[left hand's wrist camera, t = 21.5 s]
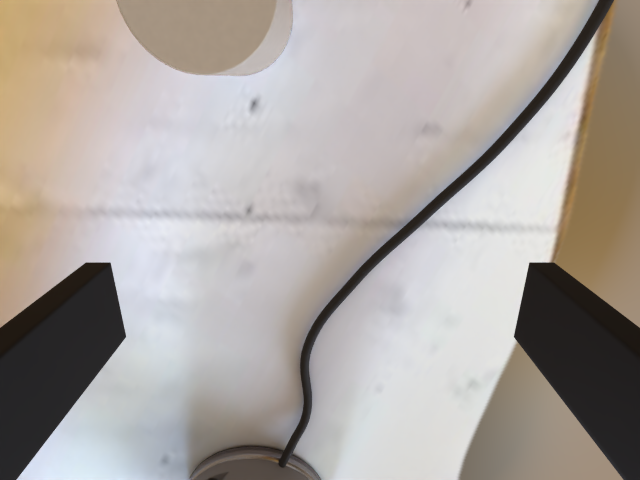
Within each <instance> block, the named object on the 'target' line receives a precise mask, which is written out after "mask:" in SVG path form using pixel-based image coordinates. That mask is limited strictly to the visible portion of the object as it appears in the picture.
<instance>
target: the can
mask: <svg viewBox="0 0 640 480" xmlns="http://www.w3.org/2000/svg"><path fill="white" fill-rule="evenodd" d="M116 1H117V4H118V7H119V10H120V12H121V14H122V16H123V18H124V21H125V23H126V24H127V26H128V28H129V29H130V31H131V32H132V34H133V35H134V36H135V38H136V39H137V40H138V42H139V43H140V44H141V45H142V46H143V47H144V48H145V49H146V50H147V51H148V52H149V53H150V54H151V55H153V56H154V57H155V58H156V59H158V60H159V61H161V62H162V63H164V64H166V65H168V66H170V67H172V68H174V69H176V70H179V71H182V72H185V73H189V74H194V75H217V76H245V75H251V74H255V73H257V72H260V71H262V70H264V69H265V68H267V67H268V66H270V65H271V64H272V63H273V62H274V61H275V60H276V59H277V58H278V57H279V56H280V54H281V53H282V52H283V50H284V48H285V46H286V44H287V42H288V39H289V37H290V33H291V29H292V22H293V9H292V1H291V0H116Z"/></svg>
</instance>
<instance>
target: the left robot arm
mask: <svg viewBox="0 0 640 480" xmlns="http://www.w3.org/2000/svg"><path fill="white" fill-rule="evenodd" d="M613 1H614V0H599V2H598V3H597V5H596V7H595V9H594V11H593V12H592V14H591V16H590V18H589V19H588V21H587V23H586V25H585V26H584V28H583V30H582V31H581V33H580V34H579V36H578V38H577V39H576V41H575V42H574V44H573V46H572V47H571V49H570V50H569V52H568V53H567V55H566V56H565V58H564V59H563V61H562V62H561V64H560V65H559V67H558V68H557V69H556V71H555V72H554V73H553V75H552V76H551V77H550V79H549V80H548V81H547V83H546V84H545V85H544V87H543V88H542V89H541V90H540V92H539V93H538V94H537V95H536V97H535V98H534V99H533V100H532V101H531V102H530V104H529V105H528V106H527V107H526V108H525V110H524V111H523V112H522V113H521V114H520V115H519V116H518V118H517V119H516V120H515V121H514V122H513V123H512V124H511V125H510V127H509V128H508V129H507V130H506V131H505V132H504V133H503V134H502V135H501V137H500V138H499V139H498V140H497V141H496V142H495V143H494V144H493V145H492V146H491V147H490V148H489V149H488V150H487V151H486V152H485V153H484V154H483V155H482V156H481V157H480V158H479V159H478V160H477V161H476V162H475V163H474V164H473V165H472V166H471V167H469V168H468V169H467V170H466V171H465V172H464V173H463V174H462V175H461V176H459V177H458V178H457V179H456V180H455V181H454V182H453V183H452V184H450V185H449V186H448V187H447V188H446V189H445V190H444V191H443V192H441V193H440V194H439V195H438V196H437V197H436V198H435V199H434V200H433V201H432V202H430V203H429V204H428V205H427V206H426V207H425V208H424V209H423V210H422V211H421V212H420V213H419V214H418V215H417V216H415V217H414V218H413V219H412V220H411V221H410V222H409V223H408V224H407V225H406V226H404V227H403V228H402V229H401V230H400V231H399V232H398V233H397V234H395V235H394V236H393V237H392V238H391V239H390V240H389V241H388V242H386V243H385V244H384V245H383V246H382V247H381V248H380V249H379V250H378V251H377V252H376V253H374V254H373V255H372V256H371V257H370V258H369V259H368V260H367V261H366V262H365V263H364V264H363V265H362V266H361V267H360V269H359V270H358V271H357V272H356V273H355V274H354V275H353V276H352V277H351V279H350V280H349V281H348V282H347V283H346V284H345V285H344V286H343V288H342V289H341V290H340V291H339V292H338V293H337V294H336V295H335V297H334V298H333V299H332V300H331V301H330V302H329V303H328V305H327V306H326V307H325V308H324V309H323V311H322V312H321V313H320V315H319V316H318V318H317V319H316V321H315V322H314V324H313V326H312V327H311V329H310V331H309V333H308V335H307V338H306V340H305V343H304V346H303V349H302V353H301V362H300V369H301V380H302V387H303V394H304V407H303V413H302V417H301V420H300V422H299V424H298V426H297V428H296V430H295V431H294V433H293V435H292V436H291V438H290V440H289V442H288V444H287V446H286V448H285V450H284V452H283V451H280V450H276V449H271V448H266V447H238V448H232V449H228V450H225V451H222V452H219V453H217V454H214V455H213V456H211V457H209V458H207V459H206V460H205V461H203V462H202V463H201V464H200V465H199V466H198V467H197V468H196V469H195V471H194V472H193V474H192V476H191V478H190V480H321V479H320V477H319V476H318V474H317V473H316V472H315V471H314V470H313V469H312V468H311V467H310V466H309V465H308V464H306V463H305V462H304V461H302V460H301V459H299V458H297V457H295V456H293V455H291V454H292V452H293V450H294V448H295V447H296V445H297V443H298V441H299V439H300V437H301V436H302V434H303V432H304V431H305V429H306V427H307V424H308V422H309V419H310V414H311V408H312V392H311V384H310V377H309V359H310V354H311V350H312V347H313V345H314V342H315V340H316V338H317V336H318V334H319V332H320V330H321V328H322V327H323V325H324V324H325V322H326V321H327V320H328V318H329V317H330V316H331V314H332V313H333V312H334V311H335V310H336V309H337V307H338V306H339V305H340V304H341V303H342V302H343V301H344V300H345V298H346V297H347V296H348V295H349V294H350V293H351V292H352V291H353V290H354V289H355V287H356V286H357V285H358V284H359V283H360V282H361V281H362V280H363V278H364V277H365V276H366V275H367V274H368V273H369V272H370V271H371V270H372V269H373V268H374V267H375V266H376V265H377V264H378V263H379V262H380V261H381V260H383V259H384V258H385V257H386V256H387V255H388V254H389V253H390V252H391V251H392V250H394V249H395V248H396V247H397V246H398V245H399V244H400V243H402V242H403V241H404V240H405V239H406V238H407V237H408V236H410V235H411V234H412V233H413V232H414V231H415V230H416V229H417V228H419V227H420V226H421V225H422V224H423V223H424V222H425V221H426V220H427V219H428V218H430V217H431V216H432V215H433V214H434V213H435V212H436V211H437V210H438V209H439V208H440V207H442V206H443V205H444V204H445V203H446V202H447V201H448V200H449V199H451V198H452V197H453V196H454V195H455V194H456V193H457V192H458V191H460V190H461V189H462V188H463V187H464V186H465V185H467V184H468V183H469V182H470V181H471V180H472V179H473V178H474V177H476V176H477V175H478V174H479V173H480V172H481V171H482V170H483V169H484V168H485V167H486V166H487V165H488V164H490V163H491V162H492V161H493V160H494V159H495V158H496V157H497V156H498V155H499V154H500V153H501V152H502V151H503V150H504V149H505V147H506V146H507V145H508V144H509V143H510V142H511V141H512V140H513V139H514V138H515V137H516V136H517V134H518V133H519V132H520V131H521V130H522V129H523V128H524V127H525V126H526V124H527V123H528V122H529V121H530V120H531V119H532V118H533V117H534V115H535V114H536V113H537V112H538V111H539V110H540V109H541V107H542V106H543V105H544V104H545V103H546V101H547V100H548V99H549V98H550V97H551V95H552V94H553V93H554V92H555V90H556V89H557V88H558V86H559V85H560V84H561V83H562V81H563V80H564V79H565V77H566V76H567V75H568V73H569V72H570V70H571V69H572V68H573V66H574V65H575V63H576V62H577V60H578V59H579V57H580V56H581V54H582V53H583V51H584V50H585V48H586V47H587V45H588V44H589V42H590V40H591V39H592V37H593V36H594V34H595V32H596V31H597V29H598V27H599V26H600V24H601V22H602V21H603V19H604V17H605V15H606V14H607V12H608V10H609V8H610V6H611V5H612V3H613ZM125 338H126V334H125V329H124V325H123V320H122V315H121V310H120V306H119V301H118V296H117V291H116V287H115V282H114V277H113V272H112V268H111V263H85V264H84V265H82V266H81V267H80V268H78V269H77V270H76V271H74V272H73V273H72V274H70V275H69V276H68V277H67V278H65V279H64V280H63V281H61V282H60V283H59V284H57V285H56V286H55V287H53V288H52V289H51V290H49V291H48V292H47V293H45V294H44V295H43V296H42V297H40V298H39V299H38V300H36V301H35V302H34V303H32V304H31V305H30V306H28V307H27V308H26V309H24V310H23V311H22V312H21V313H19V314H18V315H17V316H15V317H14V318H13V319H11V320H10V321H9V322H7V323H6V324H5V325H3V326H2V327H1V328H0V480H16V479H17V478H18V477H19V476H20V474H21V473H22V472H23V470H24V469H25V468H26V466H27V465H28V464H29V463H30V461H31V460H32V459H33V457H34V456H35V455H36V453H37V452H38V451H39V450H40V448H41V447H42V446H43V444H44V443H45V442H46V440H47V439H48V438H49V436H50V435H51V434H52V433H53V431H54V430H55V429H56V427H57V426H58V425H59V423H60V422H61V421H62V420H63V418H64V417H65V416H66V414H67V413H68V412H69V410H70V409H71V408H72V407H73V405H74V404H75V403H76V401H77V400H78V399H79V397H80V396H81V395H82V394H83V392H84V391H85V390H86V388H87V387H88V386H89V384H90V383H91V382H92V381H93V379H94V378H95V377H96V375H97V374H98V373H99V371H100V370H101V369H102V368H103V366H104V365H105V364H106V362H107V361H108V360H109V358H110V357H111V356H112V355H113V353H114V352H115V351H116V349H117V348H118V347H119V345H120V344H121V343H122V341H123V340H124V339H125ZM514 338H515V339H516V340H517V341H518V343H519V344H520V345H521V347H522V348H523V349H524V351H525V352H526V353H527V355H528V356H529V357H530V358H531V360H532V361H533V362H534V364H535V365H536V366H537V367H538V369H539V370H540V371H541V373H542V374H543V375H544V377H545V378H546V379H547V380H548V382H549V383H550V384H551V386H552V387H553V388H554V390H555V391H556V392H557V394H558V395H559V396H560V397H561V399H562V400H563V401H564V403H565V404H566V405H567V407H568V408H569V409H570V410H571V412H572V413H573V414H574V416H575V417H576V418H577V420H578V421H579V422H580V423H581V425H582V426H583V427H584V429H585V430H586V431H587V433H588V434H589V435H590V436H591V438H592V439H593V440H594V442H595V443H596V444H597V446H598V447H599V448H600V450H601V451H602V452H603V453H604V455H605V456H606V457H607V459H608V460H609V461H610V462H611V464H612V465H613V466H614V468H615V469H616V470H617V472H618V473H619V474H620V476H621V477H622V478H623V479H624V480H640V328H639V327H638V326H637V325H635V324H634V323H633V322H631V321H630V320H629V319H627V318H626V317H625V316H623V315H622V314H621V313H619V312H618V311H617V310H616V309H614V308H613V307H612V306H610V305H609V304H608V303H606V302H605V301H604V300H602V299H601V298H600V297H598V296H597V295H596V294H595V293H593V292H592V291H591V290H589V289H588V288H587V287H585V286H584V285H583V284H581V283H580V282H579V281H577V280H576V279H575V278H573V277H572V276H571V275H570V274H568V273H567V272H566V271H564V270H563V269H562V268H560V267H559V266H558V265H556V264H555V263H529V268H528V272H527V277H526V282H525V287H524V291H523V296H522V301H521V306H520V310H519V315H518V320H517V325H516V329H515V334H514Z"/></svg>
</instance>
